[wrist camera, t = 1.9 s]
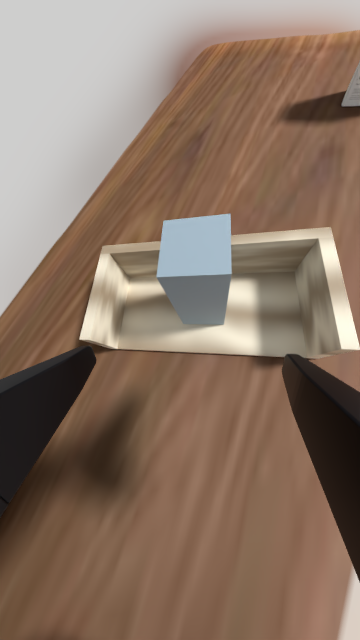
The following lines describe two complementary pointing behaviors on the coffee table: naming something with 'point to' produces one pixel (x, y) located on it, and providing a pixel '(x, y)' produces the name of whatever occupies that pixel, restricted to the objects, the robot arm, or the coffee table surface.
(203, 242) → the pale blue block
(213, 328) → the birch crate
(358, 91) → the ink box
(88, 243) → the coffee table surface
